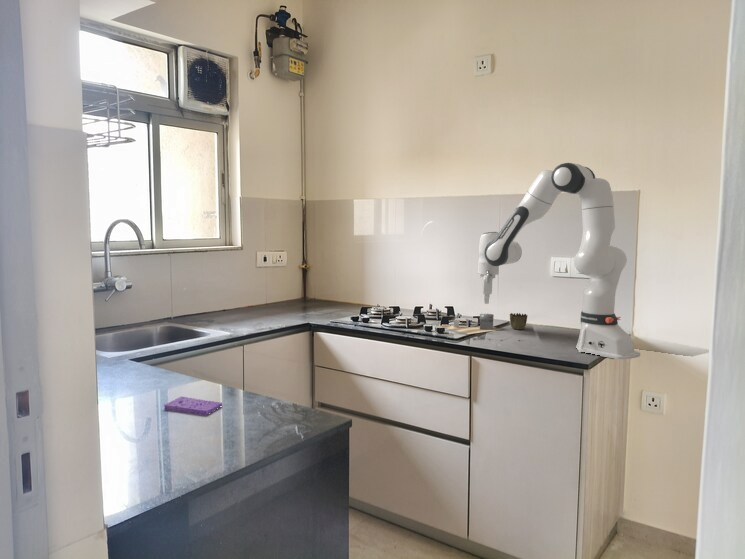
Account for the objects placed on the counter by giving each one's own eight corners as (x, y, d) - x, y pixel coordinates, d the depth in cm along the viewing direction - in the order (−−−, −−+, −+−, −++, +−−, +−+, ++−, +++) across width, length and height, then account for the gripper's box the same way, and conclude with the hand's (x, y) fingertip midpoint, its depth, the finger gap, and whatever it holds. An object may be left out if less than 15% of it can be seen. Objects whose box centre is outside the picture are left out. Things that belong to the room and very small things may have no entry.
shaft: (459, 326, 249) (459, 319, 249) (459, 327, 247) (459, 320, 247) (453, 326, 250) (454, 319, 249) (453, 327, 247) (453, 320, 247)
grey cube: (492, 327, 248) (493, 313, 248) (493, 330, 243) (493, 315, 242) (479, 326, 249) (479, 312, 249) (479, 329, 244) (479, 314, 243)
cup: (527, 334, 241) (528, 316, 241) (509, 333, 243) (510, 315, 242) (526, 331, 249) (526, 313, 248) (508, 330, 250) (509, 312, 249)
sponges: (181, 403, 148) (181, 396, 148) (223, 408, 144) (223, 401, 144) (163, 411, 142) (163, 404, 142) (207, 417, 138) (207, 410, 138)
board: (502, 332, 245) (503, 329, 245) (468, 337, 234) (468, 333, 234) (470, 325, 261) (470, 321, 261) (436, 329, 250) (436, 325, 250)
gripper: (496, 272, 233) (494, 306, 234) (495, 268, 253) (493, 298, 254) (480, 271, 234) (478, 305, 236) (480, 267, 254) (479, 298, 256)
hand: (486, 301), depth 245 cm, fingers open, 8 cm apart
